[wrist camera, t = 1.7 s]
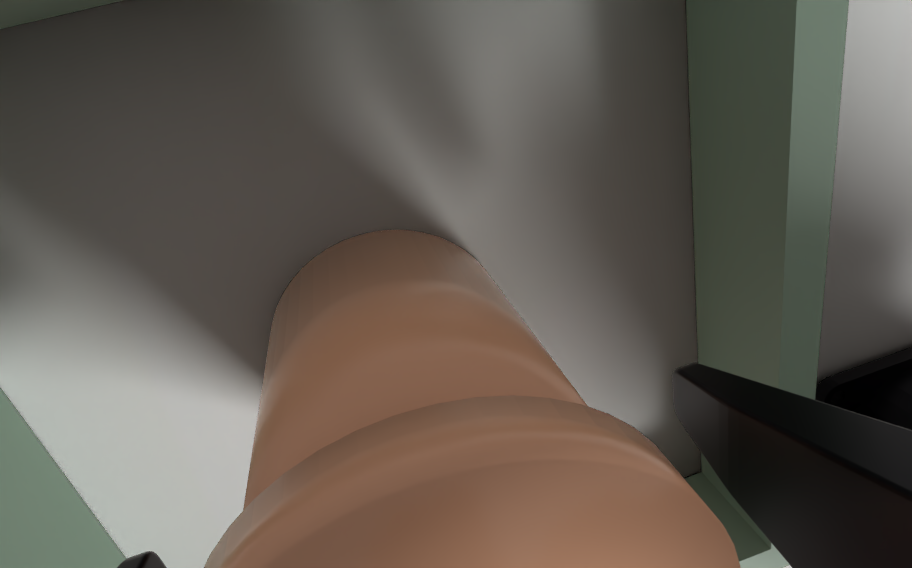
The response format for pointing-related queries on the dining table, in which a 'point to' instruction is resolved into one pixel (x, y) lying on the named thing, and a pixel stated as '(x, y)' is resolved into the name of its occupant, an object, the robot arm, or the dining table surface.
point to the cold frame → (715, 247)
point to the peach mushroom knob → (443, 434)
